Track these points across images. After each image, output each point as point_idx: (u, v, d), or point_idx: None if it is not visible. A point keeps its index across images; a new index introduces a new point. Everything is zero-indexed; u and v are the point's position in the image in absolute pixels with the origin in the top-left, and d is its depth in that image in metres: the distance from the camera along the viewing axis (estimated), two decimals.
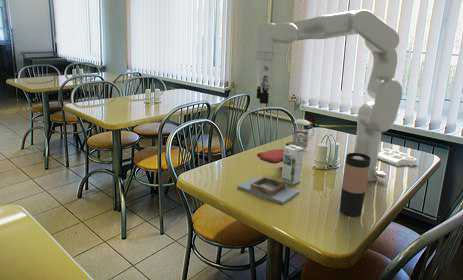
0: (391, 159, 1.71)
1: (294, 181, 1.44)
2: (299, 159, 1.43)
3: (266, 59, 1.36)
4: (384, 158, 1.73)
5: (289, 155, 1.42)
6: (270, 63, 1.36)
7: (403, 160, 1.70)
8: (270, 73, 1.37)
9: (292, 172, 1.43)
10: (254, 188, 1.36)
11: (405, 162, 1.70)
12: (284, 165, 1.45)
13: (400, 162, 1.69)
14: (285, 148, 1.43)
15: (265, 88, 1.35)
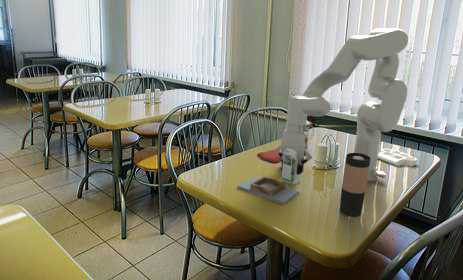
0: (391, 159, 1.71)
1: (294, 181, 1.44)
2: None
3: (304, 131, 1.39)
4: (384, 158, 1.73)
5: (289, 155, 1.42)
6: (307, 134, 1.40)
7: (403, 160, 1.70)
8: None
9: (292, 172, 1.43)
10: (254, 188, 1.36)
11: (405, 162, 1.70)
12: (284, 165, 1.45)
13: (400, 162, 1.69)
14: None
15: (307, 160, 1.41)
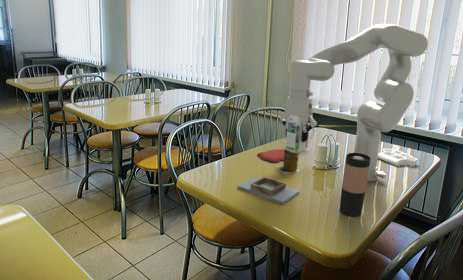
0: (392, 159, 1.71)
1: (299, 150, 1.41)
2: None
3: (308, 97, 1.35)
4: (385, 158, 1.73)
5: (293, 122, 1.38)
6: (311, 100, 1.36)
7: (404, 160, 1.70)
8: (312, 109, 1.37)
9: (296, 140, 1.39)
10: (254, 188, 1.36)
11: (406, 162, 1.70)
12: (288, 133, 1.41)
13: (400, 162, 1.69)
14: None
15: None
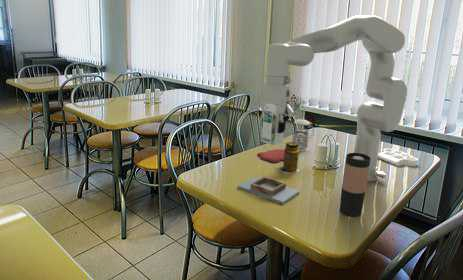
0: (392, 159, 1.71)
1: (275, 141, 1.29)
2: None
3: (286, 83, 1.24)
4: (385, 158, 1.74)
5: (269, 111, 1.27)
6: (289, 87, 1.25)
7: (404, 160, 1.70)
8: (290, 98, 1.26)
9: (273, 130, 1.28)
10: (254, 188, 1.36)
11: (406, 162, 1.70)
12: (264, 123, 1.30)
13: (401, 162, 1.69)
14: None
15: (289, 117, 1.26)
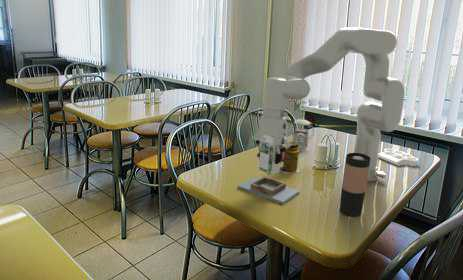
0: (392, 159, 1.71)
1: (272, 171, 1.33)
2: None
3: (283, 116, 1.27)
4: (385, 158, 1.74)
5: (266, 142, 1.30)
6: (286, 120, 1.29)
7: (404, 160, 1.70)
8: (286, 130, 1.29)
9: (270, 161, 1.31)
10: (254, 188, 1.36)
11: (406, 162, 1.70)
12: (261, 154, 1.33)
13: (401, 162, 1.69)
14: None
15: (286, 148, 1.29)
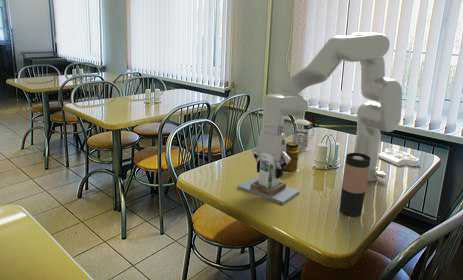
0: (392, 159, 1.71)
1: (272, 189, 1.35)
2: None
3: (281, 133, 1.29)
4: (386, 158, 1.74)
5: (266, 161, 1.32)
6: (284, 136, 1.30)
7: (405, 160, 1.70)
8: (285, 146, 1.31)
9: (269, 179, 1.33)
10: (254, 188, 1.36)
11: (407, 162, 1.70)
12: (261, 171, 1.35)
13: (401, 162, 1.69)
14: (262, 153, 1.33)
15: (287, 163, 1.30)
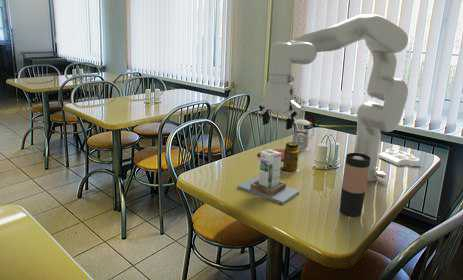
0: (393, 159, 1.71)
1: (272, 189, 1.35)
2: (277, 164, 1.34)
3: (289, 82, 1.25)
4: (386, 157, 1.74)
5: (266, 160, 1.33)
6: None
7: (405, 160, 1.70)
8: (293, 96, 1.28)
9: (269, 179, 1.33)
10: (254, 188, 1.36)
11: (407, 162, 1.70)
12: (261, 171, 1.35)
13: (401, 162, 1.69)
14: (261, 153, 1.34)
15: (297, 113, 1.26)
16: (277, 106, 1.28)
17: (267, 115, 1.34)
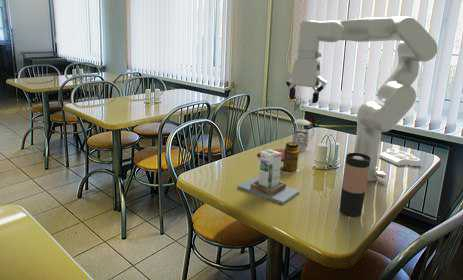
0: (393, 159, 1.71)
1: (272, 189, 1.35)
2: (277, 164, 1.34)
3: (316, 58, 1.34)
4: (387, 157, 1.74)
5: (266, 160, 1.33)
6: (319, 62, 1.35)
7: (405, 160, 1.70)
8: None
9: (269, 179, 1.33)
10: (254, 188, 1.36)
11: (407, 162, 1.70)
12: (261, 171, 1.35)
13: (402, 162, 1.69)
14: (261, 153, 1.34)
15: (323, 87, 1.35)
16: (304, 81, 1.36)
17: (294, 90, 1.43)
